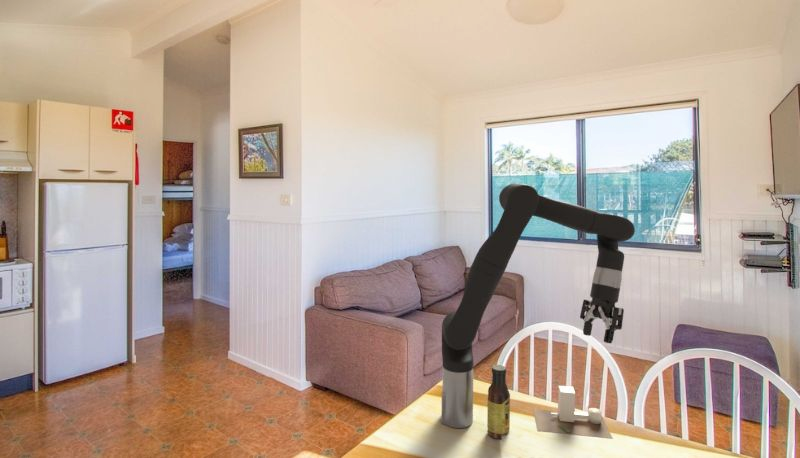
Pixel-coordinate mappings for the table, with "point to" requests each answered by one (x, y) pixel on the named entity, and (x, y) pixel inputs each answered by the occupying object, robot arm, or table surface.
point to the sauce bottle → (498, 404)
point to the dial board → (569, 425)
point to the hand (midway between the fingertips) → (596, 338)
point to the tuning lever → (573, 407)
